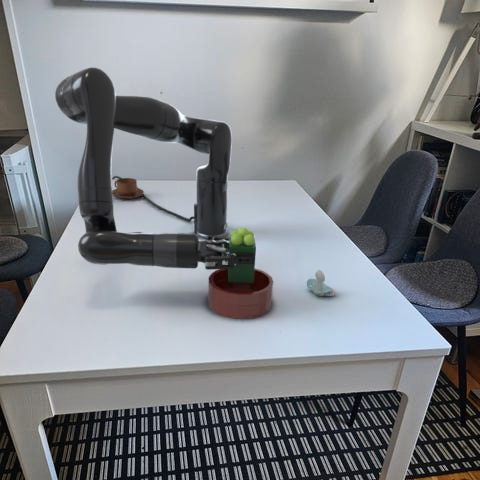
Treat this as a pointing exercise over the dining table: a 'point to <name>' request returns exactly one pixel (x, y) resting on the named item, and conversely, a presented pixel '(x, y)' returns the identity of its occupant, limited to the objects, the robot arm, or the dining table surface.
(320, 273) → the pacifier
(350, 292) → the dining table surface
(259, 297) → the pot
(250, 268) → the grapes
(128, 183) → the cup and saucer
